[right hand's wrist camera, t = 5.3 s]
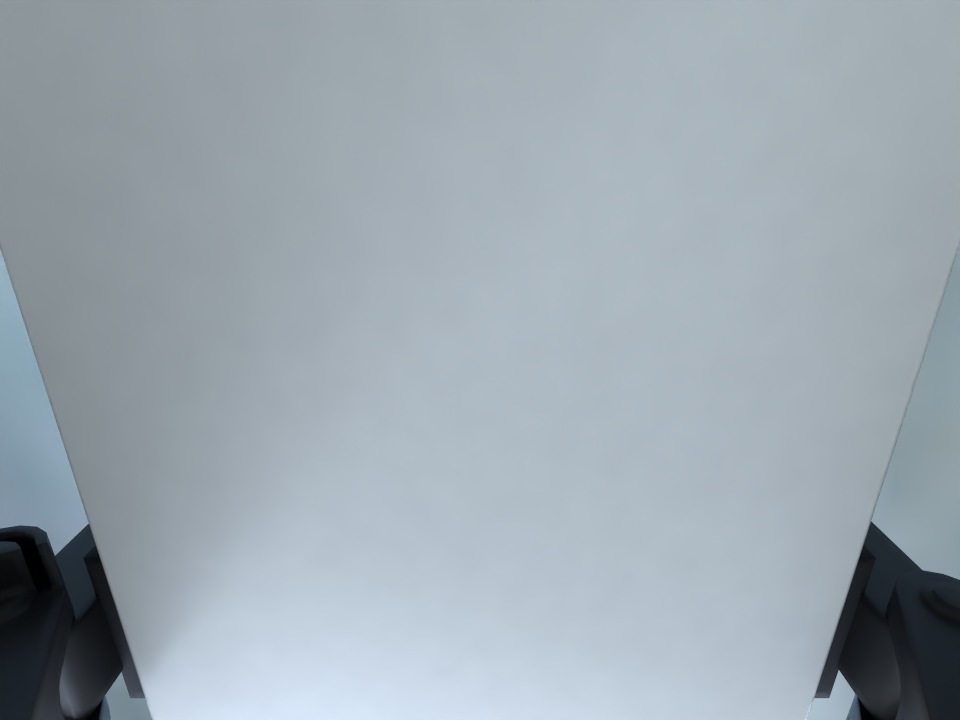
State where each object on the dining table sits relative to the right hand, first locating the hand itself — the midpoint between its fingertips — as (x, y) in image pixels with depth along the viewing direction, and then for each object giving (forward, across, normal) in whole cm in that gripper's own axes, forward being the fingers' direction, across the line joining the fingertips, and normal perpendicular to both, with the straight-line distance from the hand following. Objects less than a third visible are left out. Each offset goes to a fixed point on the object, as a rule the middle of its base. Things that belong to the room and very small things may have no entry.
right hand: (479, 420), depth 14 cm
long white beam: (+1, 0, -32) cm, 33 cm away
